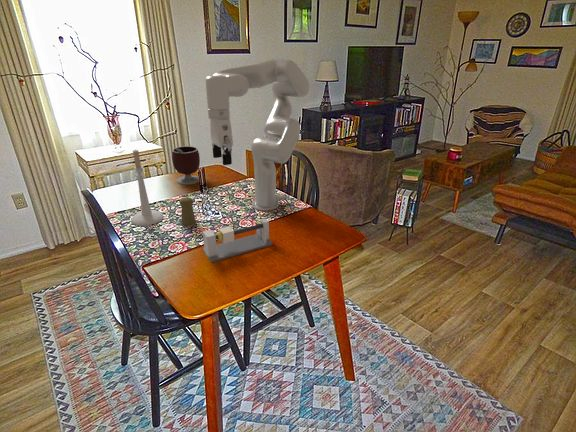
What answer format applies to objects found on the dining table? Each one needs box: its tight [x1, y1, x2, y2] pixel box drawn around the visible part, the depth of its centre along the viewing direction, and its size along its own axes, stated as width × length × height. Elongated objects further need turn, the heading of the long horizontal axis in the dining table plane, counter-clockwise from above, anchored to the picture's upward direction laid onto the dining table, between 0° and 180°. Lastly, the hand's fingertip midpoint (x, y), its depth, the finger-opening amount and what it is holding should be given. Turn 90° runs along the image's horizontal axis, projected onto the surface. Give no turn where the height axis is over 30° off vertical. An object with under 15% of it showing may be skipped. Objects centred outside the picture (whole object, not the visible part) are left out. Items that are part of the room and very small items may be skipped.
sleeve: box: [218, 226, 235, 243], centre depth 125 cm, size 4×4×4 cm
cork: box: [179, 196, 197, 227], centre depth 144 cm, size 6×6×11 cm
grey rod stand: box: [202, 218, 274, 263], centre depth 128 cm, size 24×9×9 cm, turn 121°
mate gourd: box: [171, 145, 201, 185], centre depth 185 cm, size 16×14×20 cm
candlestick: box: [130, 149, 164, 227], centre depth 143 cm, size 13×13×30 cm
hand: (222, 160), depth 130 cm, fingers open, 9 cm apart
